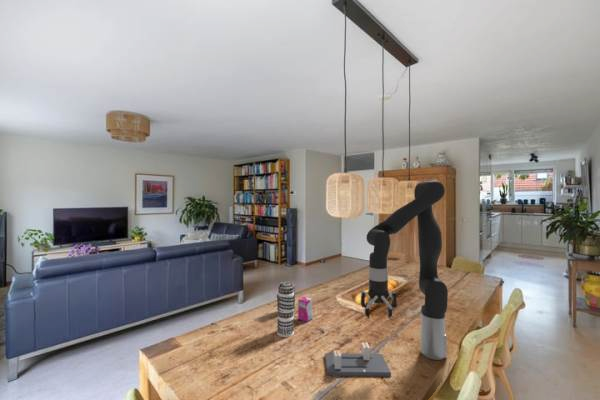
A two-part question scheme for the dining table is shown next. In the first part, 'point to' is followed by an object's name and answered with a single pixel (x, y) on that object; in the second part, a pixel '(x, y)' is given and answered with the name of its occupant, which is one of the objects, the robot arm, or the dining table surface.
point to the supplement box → (305, 309)
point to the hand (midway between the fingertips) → (378, 316)
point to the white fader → (365, 351)
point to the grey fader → (337, 359)
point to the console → (357, 365)
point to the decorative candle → (285, 309)
